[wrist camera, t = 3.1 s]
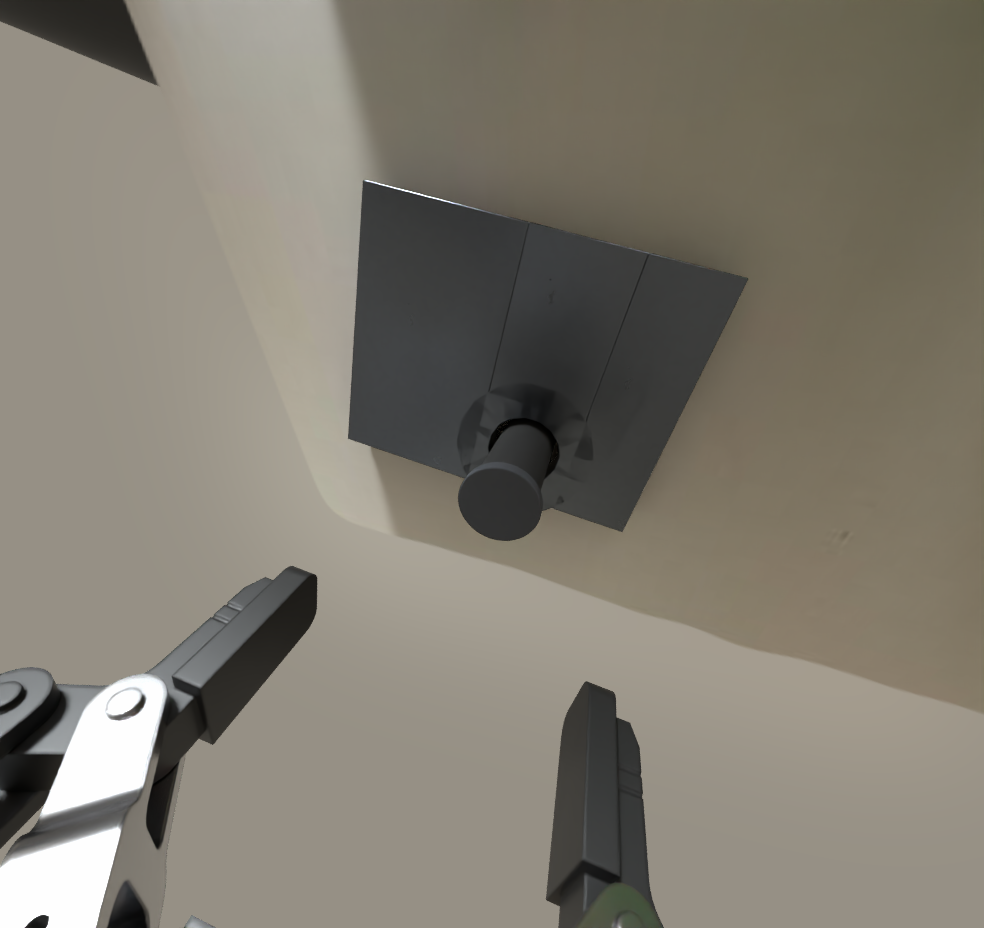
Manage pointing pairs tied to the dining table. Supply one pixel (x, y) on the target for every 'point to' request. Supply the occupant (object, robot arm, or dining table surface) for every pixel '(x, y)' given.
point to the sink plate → (525, 345)
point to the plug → (509, 482)
